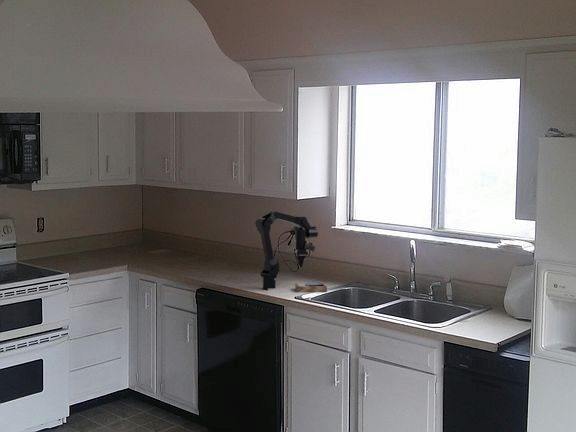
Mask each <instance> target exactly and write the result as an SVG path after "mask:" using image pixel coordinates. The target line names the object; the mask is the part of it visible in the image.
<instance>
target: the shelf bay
mask: <svg viewBox="0 0 576 432" xmlns="http://www.w3.org/2000/svg"><path fill="white" fill-rule="evenodd" d="M321 284H323V285H324V286H305V285H304V286H302V285H299V284H298V283H297V282H295V283H294V289H295V291H296V292H297V293H327V291H328V286H327V285H326V284H325V283H323V282H321Z"/></svg>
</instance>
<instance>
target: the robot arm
mask: <svg viewBox="0 0 576 432" xmlns="http://www.w3.org/2000/svg"><path fill="white" fill-rule="evenodd" d="M276 220H280V221H284V222H287V223H291V225H294V227H293V228H292V229H291V230H292V232H293V231H294V232H295V239H294V243H295V246H294V247H293V248H292V250H293V251H292V252H293V255H294V257H295V260H296V262H297V265H298V266H299V267H300V268H302V267H303V264H304V261H305V258H306V257H307V256H308V255H309V254H308V253H309V252H308V250H309V251H310V252H315V249H316V246H315V245H314V244H313V242H309V243H308V242H307V239H315V238H317V237H318V236H319V232H318V229H317V227H316V225H310V223H309V221H308V217H306V216H300V215H299V216H298V215H291V214H286V213H283V212H279V211H276V210H273V211H272V210H271V211H270V212H268V213H267V214H265V215H262V216H261V217H258V218H257V219H256V221H255V223H254V224H255V227H256V230H257V231H258V233H259V234H260V238H261V243H262V247H263V254H264V259H265V260H264V263H263V267H264V268H263V269H262V270H261V271H260V277H261V278H262V286H261V288H262V289H263V290H270V289H272V290H274V289H276V284H277V283H276V279H277V277H278V274H279V273H280V269H281V266H280V262H279V260H276V259H275V256H274V250H273V245H272V241H271V240H272V239H271V235H270V234H271V233H270V232H271V228H272V227H271V225H272V224H274V222H275V221H276Z"/></svg>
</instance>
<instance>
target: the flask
mask: <svg viewBox="0 0 576 432" xmlns="http://www.w3.org/2000/svg"><path fill="white" fill-rule="evenodd" d="M304 286H324V285H323V284H322V282H314V283H309V282H307V283H305V285H304Z"/></svg>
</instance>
